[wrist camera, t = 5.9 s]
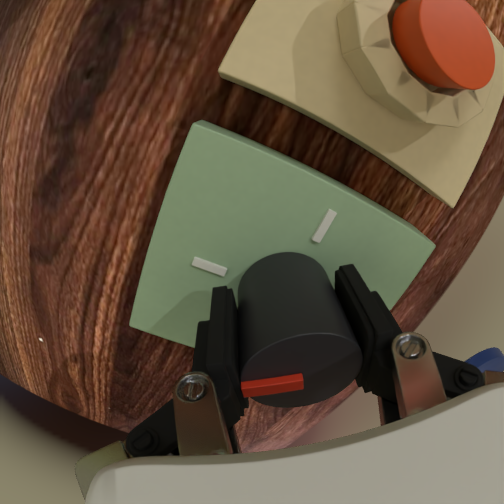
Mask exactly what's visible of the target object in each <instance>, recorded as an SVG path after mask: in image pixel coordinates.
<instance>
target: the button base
mask: <svg viewBox="0 0 504 504" xmlns="http://www.w3.org/2000/svg"><path fill="white" fill-rule="evenodd" d="M405 1H407V0H256V1H255V3H254V5H253V6H252V8H251V10H250V11H249V13H248V15H247V17H246V18H245V20H244V22H243V24H242V25H241V27H240V29H239V31H238V33H237V34H236V36H235V38H234V40H233V42H232V44H231V46H230V47H229V49H228V51H227V53H226V55H225V57H224V59H223V61H222V63H221V65H220V67H219V69H218V72H219V74H220V76H221V78H223V79H226V80H228V81H231V82H233V83H236V84H239V85H241V86H243V87H246V88H248V89H251V90H253V91H255V92H258V93H260V94H262V95H265V96H267V97H269V98H271V99H273V100H276V101H278V102H280V103H282V104H284V105H286V106H288V107H290V108H292V109H294V110H296V111H298V112H300V113H302V114H304V115H306V116H308V117H310V118H312V119H314V120H316V121H318V122H320V123H322V124H323V125H325V126H327V127H329V128H331V129H332V130H334V131H336V132H338V133H339V134H341V135H343V136H345V137H346V138H348V139H350V140H351V141H353V142H355V143H356V144H358V145H360V146H361V147H363V148H364V149H366V150H368V151H369V152H371V153H372V154H374V155H375V156H377V157H379V158H380V159H382V160H383V161H385V162H386V163H388V164H389V165H391V166H392V167H393V168H395V169H396V170H398V171H399V172H401V173H402V174H403V175H405V176H406V177H408V178H409V179H410V180H412V181H413V182H414V183H416V184H417V185H419V186H420V187H421V188H423V189H424V190H425V191H426V192H428V193H429V194H430V195H432V196H434V197H435V198H437V199H439V200H440V201H442V202H443V203H445V204H446V205H448V206H449V207H451V208H454V206H455V205H456V203H457V201H458V199H459V197H460V195H461V194H462V192H463V190H464V188H465V186H466V184H467V182H468V180H469V178H470V176H471V174H472V172H473V170H474V168H475V166H476V163H477V161H478V159H479V157H480V155H481V152H482V150H483V148H484V146H485V143H486V141H487V139H488V136H489V134H490V131H491V129H492V126H493V123H494V121H495V118H496V115H497V113H498V110H499V107H500V104H501V101H502V98H503V95H504V47H503V46H502V45H501V43H500V42H499V41H498V40H497V38H496V37H495V36H494V35H493V33H492V32H491V31H490V30H489V29H488V27H487V26H486V27H487V29H488V31H489V34H490V36H491V39H492V42H493V46H494V52H495V69H494V73H493V76H492V78H491V80H490V81H489V83H488V84H487V85H486V86H484V87H483V88H481V89H477V90H466V89H455V88H441V87H436V86H433V85H430V84H428V83H426V82H425V81H423V80H422V79H421V78H419V77H418V76H417V75H416V74H415V73H414V72H413V71H412V70H411V69H410V68H409V67H408V66H407V64H406V63H405V61H404V60H403V58H402V57H401V55H400V53H399V51H398V49H397V46H396V43H395V40H394V36H393V30H392V21H393V16H394V13H395V11H396V9H397V8H398V6H399V5H400V4H402V3H403V2H405Z"/></svg>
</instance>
